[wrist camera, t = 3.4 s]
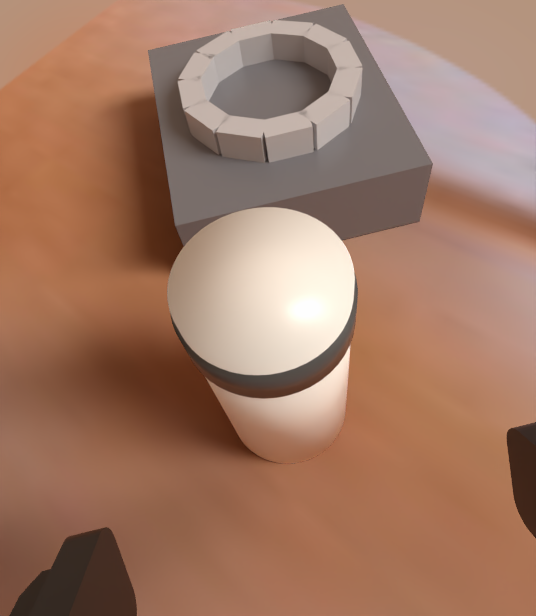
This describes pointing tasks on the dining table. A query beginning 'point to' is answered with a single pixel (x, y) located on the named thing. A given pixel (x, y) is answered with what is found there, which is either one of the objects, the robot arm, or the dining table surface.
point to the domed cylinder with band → (270, 326)
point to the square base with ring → (286, 127)
